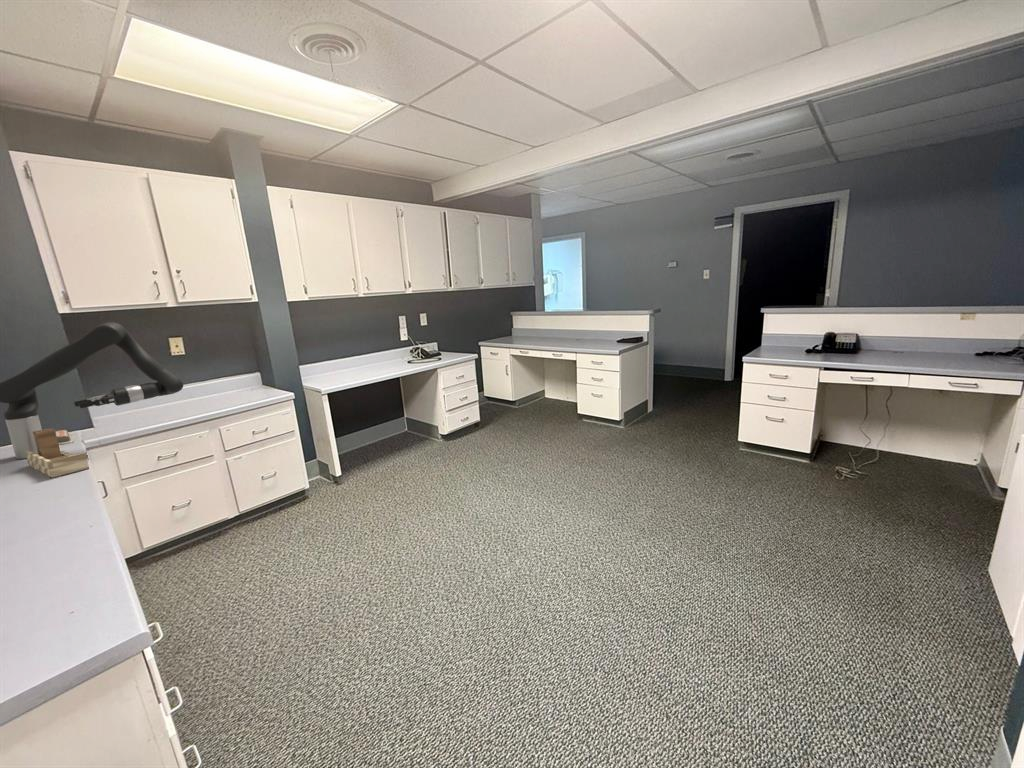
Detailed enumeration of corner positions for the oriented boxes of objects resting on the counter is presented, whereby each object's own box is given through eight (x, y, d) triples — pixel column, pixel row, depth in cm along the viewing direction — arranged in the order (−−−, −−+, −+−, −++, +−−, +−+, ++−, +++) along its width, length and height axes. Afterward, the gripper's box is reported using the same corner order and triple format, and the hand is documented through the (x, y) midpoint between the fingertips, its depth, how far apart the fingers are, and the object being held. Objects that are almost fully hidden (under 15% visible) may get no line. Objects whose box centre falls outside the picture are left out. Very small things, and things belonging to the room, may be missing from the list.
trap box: (29, 466, 166) (25, 451, 165) (64, 458, 175) (61, 443, 173) (52, 478, 152) (47, 461, 151) (89, 468, 161) (85, 453, 160)
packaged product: (41, 432, 202) (71, 427, 209) (44, 442, 202) (73, 437, 210) (40, 439, 190) (72, 433, 197) (43, 449, 190) (74, 443, 198)
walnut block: (41, 465, 166) (32, 431, 164) (59, 461, 170) (50, 428, 168) (45, 467, 164) (36, 433, 161) (63, 462, 168) (54, 429, 165)
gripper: (120, 386, 188) (70, 395, 175) (130, 387, 180) (78, 397, 167) (125, 401, 190) (75, 412, 177) (135, 404, 182) (84, 415, 169)
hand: (77, 405), depth 172 cm, fingers open, 8 cm apart
